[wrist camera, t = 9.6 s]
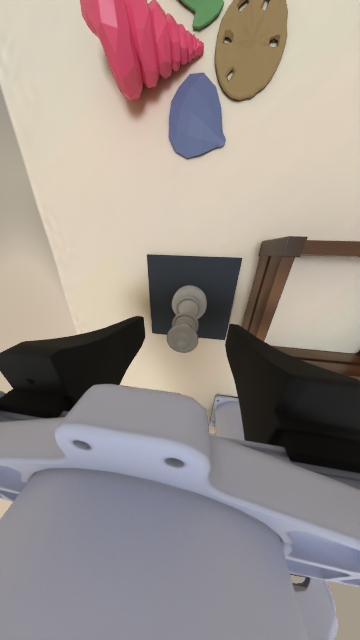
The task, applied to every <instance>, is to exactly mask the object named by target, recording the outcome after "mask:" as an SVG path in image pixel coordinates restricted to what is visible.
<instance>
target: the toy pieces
mask: <svg viewBox="0 0 360 640" xmlns="http://www.w3.org/2000/svg"><path fill="white" fill-rule="evenodd" d="M180 1H181V2H182V3H183V4H184V5H186V6H187V7H188V8H189V9H191V10H192V11H193V12H195V17H194V22H193V29H198V30H200V29H201V28H203V27H205V26H206V25H208V24H209V23H210V22H212V21H213V20H214V19H215V18H216V17H217V16H218V15H219V13H220V11H221V9H222V7H223V5H224V1H223V0H180ZM245 1H246V0H233V2H232V3H231V5H230V6H229V8H228V9H227V11H226V13H225V15H224V16H223V18H222V20H221V24H220V28H219V32H218V36H217V43H216V50H215V67H216V71H217V76H218V80H219V82H220V84H221V86H222V88H223V90H224V92H225V93H226V94H227V95H228V96H230V97H231V98H233V99H236V100H241V99H246V98H251V97H253V96H254V95H255V94H256V93H257V92H258V91H259V90H261V89H262V88H264V87H265V86H266V85H267V83H268V82H269V81H270V80H271V78H272V76H273V75H274V73H275V71H276V69H277V67H278V65H279V63H280V60H281V58H282V55H283V51H284V48H285V44H286V39H287V15H288V10H287V4H286V0H270V1H269V3H268V6H267V8H266V11H264V10H263V9H262V7H263V3H264V1H265V0H248V4H247V6H246V7H245V8H244V9H242V11H240V12H239V10H238V8H239V7H240V5H241V4H242V3H243V2H245ZM80 5H81V11H82V16H83V18H84V20H85V22H86V23H87V25H88V27H89V28H90V30H91V31H92V32H93V33H94V34H95V35H96V36H97V37H98V38H99V39H100V42H101V44H102V46H103V48H104V51H105V53H106V56H107V59H108V62H109V64H110V67H111V70H112V73H113V75H114V78H115V80H116V83H117V85H118V87H119V89H120V91H121V92H122V94H123V95H124V96H125V97H126V98H127V99H128V100H134V99H139V98H140V95H141V92H142V89H143V82H144V83H145V85H146V86H147V87H148V88H152V87H156V85H157V82H158V79H159V74H161V77H163V78H167V77H169V76H170V75H171V71H172V69H173V70H174V71H175V72H176V71H177V70H179V67H180V63H181V64H182V65H185V64H187V61H189V62H191V61H192V59H193V58H194V60H195V58H196V56H200V54H201V55H202V53H203V52H204V44H203V43H202V42H201V41H199V38H198V39H196V37H195V36H194V34H193V35H192V34H191V33H190V32H189V31H186V30H185V28H184V26H183V25H182V24H179V25H177V23H176V21H175V20H174V18H173V17H172V16H171V14H169V13H168V14H167V15H166V16H165V12H164V11H163V9H162V8H161V7H160V5H159V4H158V3H157V1H156V0H152V1H151V2H150V3H149V4H148V3H147V0H80ZM225 37H229V38H230V39H231V41H232V42H231V43H224V39H225ZM272 39H276V40H278V44H277V47H274V48H273V47H271V46H269V41H270V40H272ZM232 70H233V75H232V77H231V78H230V80H229V81H228V79H227V75H228V74H229V72H230V71H232ZM169 139H170V141H171V143H172V146H173V148H174V150H175V151H176V152H177V153H179V154H181V155H183V156H184V157H186V158H190V157H194V156H197V155H201V154H203V153H205V152H207V151H209V150H211V149H213V148H215V147H222V146H223V145H224V144H225V137H224V134H223V132H222V114H221V106H220V102H219V98H218V94H217V90H216V87H215V86H214V84H213V83H212V82H211V81H210V80H209V78H208V77H207V76H206V75H205V74H204V73H195V74H190V75H189V76H188V77H187V78H186V80H185V81H184V82H183V83H182V84H181V86H180V87H179V88H178V90H177V92H176V94H175V96H174V98H173V100H172V102H171V109H170V116H169Z"/></svg>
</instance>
